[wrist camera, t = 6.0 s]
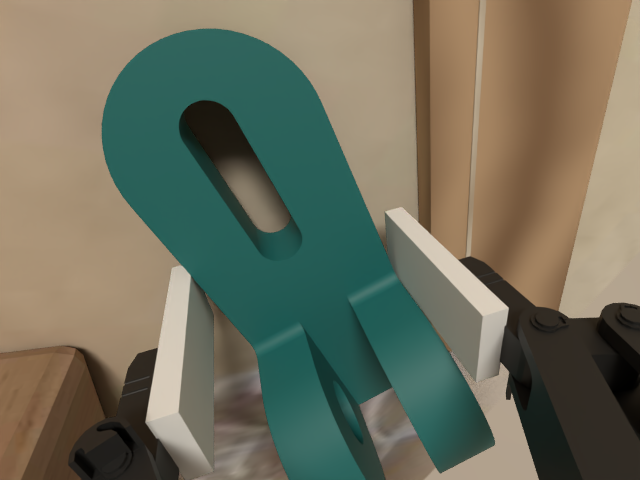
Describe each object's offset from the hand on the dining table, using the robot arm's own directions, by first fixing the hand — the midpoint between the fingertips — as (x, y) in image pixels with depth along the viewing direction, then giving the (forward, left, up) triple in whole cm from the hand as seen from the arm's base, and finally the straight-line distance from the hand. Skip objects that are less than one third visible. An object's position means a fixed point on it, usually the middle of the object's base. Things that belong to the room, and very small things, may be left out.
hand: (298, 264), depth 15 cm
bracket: (0, 0, -2) cm, 2 cm away
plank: (+11, 0, -2) cm, 11 cm away
